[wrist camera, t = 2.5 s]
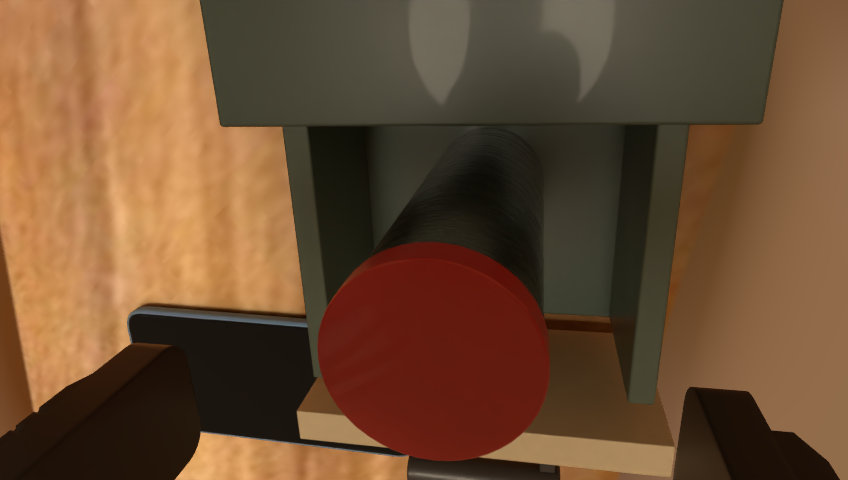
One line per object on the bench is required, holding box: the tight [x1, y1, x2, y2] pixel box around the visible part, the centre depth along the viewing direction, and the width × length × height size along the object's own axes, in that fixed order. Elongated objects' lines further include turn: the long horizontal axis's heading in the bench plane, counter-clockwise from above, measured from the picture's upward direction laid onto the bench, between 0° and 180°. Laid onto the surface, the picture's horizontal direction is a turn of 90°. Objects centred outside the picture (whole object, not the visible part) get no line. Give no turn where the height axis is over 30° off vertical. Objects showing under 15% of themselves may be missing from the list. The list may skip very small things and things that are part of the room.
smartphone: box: [127, 306, 408, 457], centre depth 29 cm, size 7×1×15 cm
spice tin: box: [317, 127, 550, 461], centre depth 16 cm, size 4×4×12 cm
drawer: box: [283, 125, 690, 480], centre depth 21 cm, size 17×12×7 cm
